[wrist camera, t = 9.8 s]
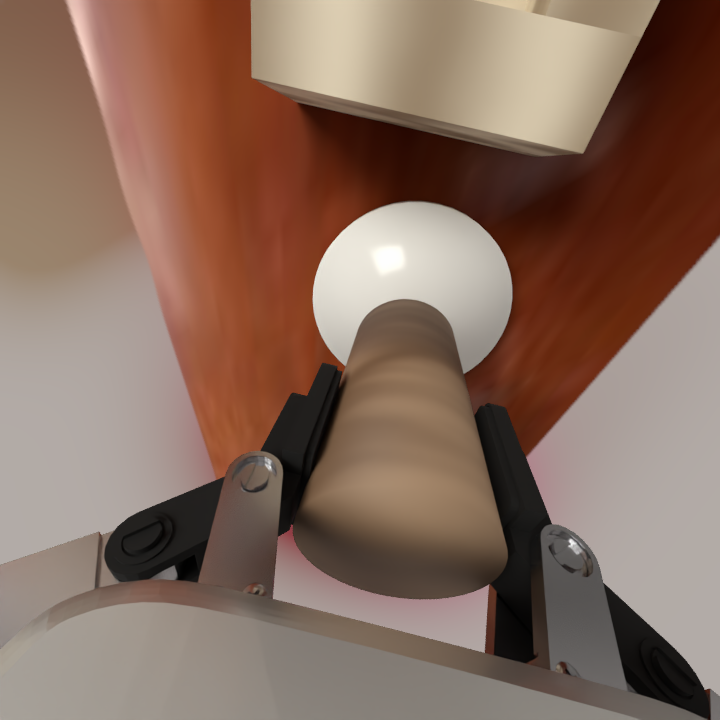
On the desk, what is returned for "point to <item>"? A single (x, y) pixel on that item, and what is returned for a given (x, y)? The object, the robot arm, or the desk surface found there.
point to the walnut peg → (402, 467)
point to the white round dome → (415, 275)
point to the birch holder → (455, 64)
